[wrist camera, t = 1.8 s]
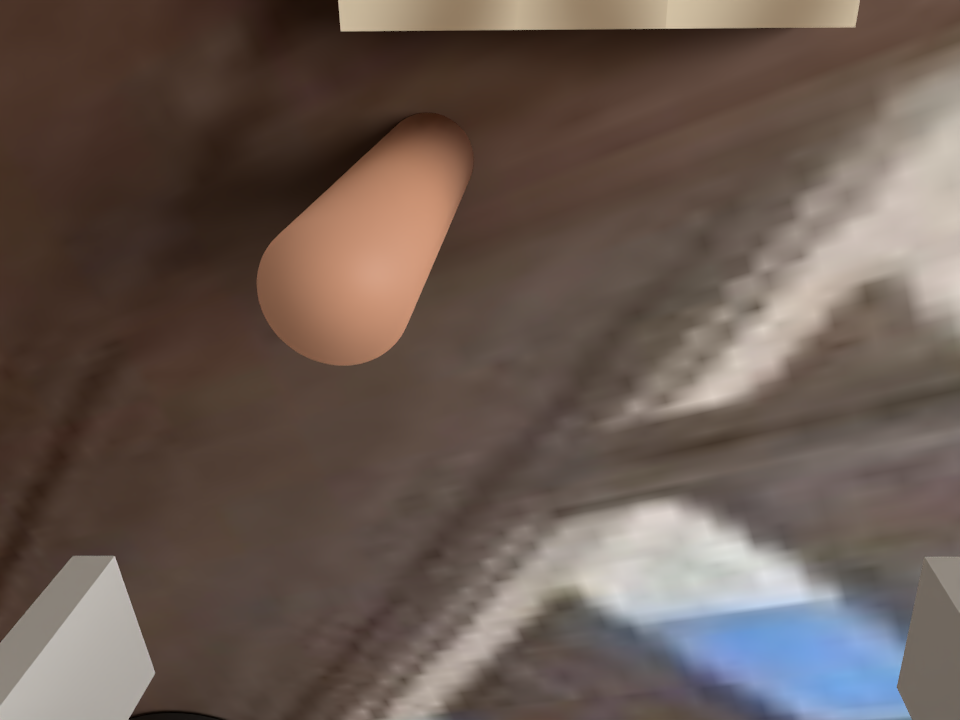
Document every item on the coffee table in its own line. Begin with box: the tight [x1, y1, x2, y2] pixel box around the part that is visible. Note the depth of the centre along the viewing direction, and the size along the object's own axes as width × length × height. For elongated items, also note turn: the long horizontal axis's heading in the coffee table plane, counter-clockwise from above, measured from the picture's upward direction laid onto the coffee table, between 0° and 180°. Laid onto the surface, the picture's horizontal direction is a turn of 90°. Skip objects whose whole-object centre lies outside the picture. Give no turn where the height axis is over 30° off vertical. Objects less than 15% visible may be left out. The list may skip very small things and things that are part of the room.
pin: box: [257, 113, 474, 366], centre depth 25 cm, size 4×4×15 cm
